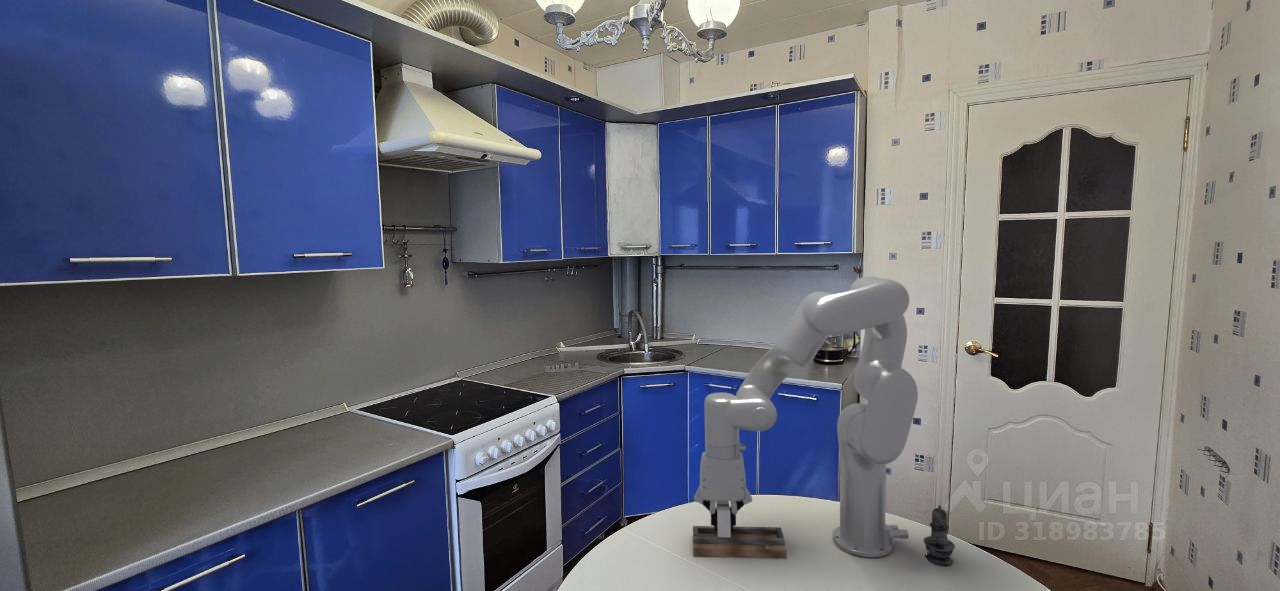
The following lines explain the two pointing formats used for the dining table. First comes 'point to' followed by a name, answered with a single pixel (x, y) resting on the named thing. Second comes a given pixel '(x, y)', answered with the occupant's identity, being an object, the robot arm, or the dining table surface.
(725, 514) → the block
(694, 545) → the wooden tray
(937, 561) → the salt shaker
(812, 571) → the dining table surface
